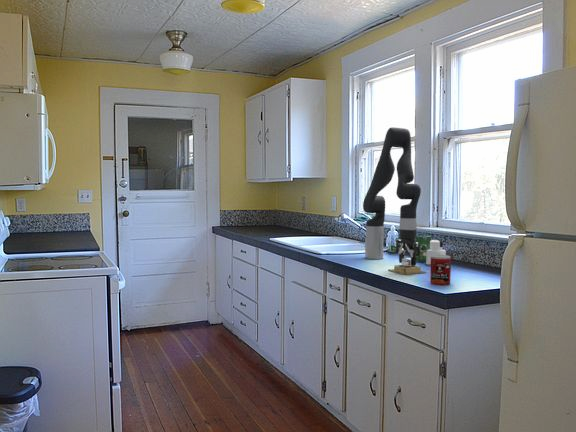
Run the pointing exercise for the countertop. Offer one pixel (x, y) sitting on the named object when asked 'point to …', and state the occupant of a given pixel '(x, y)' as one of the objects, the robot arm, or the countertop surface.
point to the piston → (406, 262)
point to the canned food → (440, 269)
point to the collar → (407, 270)
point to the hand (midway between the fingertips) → (407, 264)
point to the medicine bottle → (434, 250)
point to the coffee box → (423, 247)
